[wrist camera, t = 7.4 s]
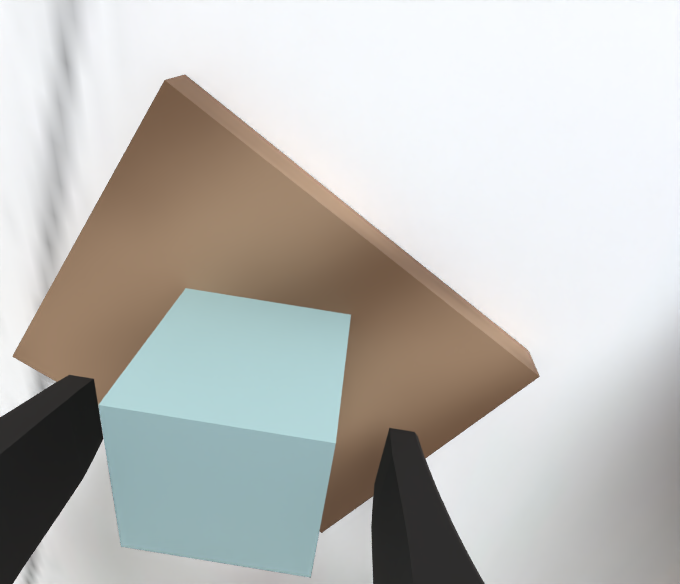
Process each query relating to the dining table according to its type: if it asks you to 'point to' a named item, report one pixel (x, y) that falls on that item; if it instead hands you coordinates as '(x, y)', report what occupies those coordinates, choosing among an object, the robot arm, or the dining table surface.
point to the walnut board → (269, 284)
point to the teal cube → (228, 431)
